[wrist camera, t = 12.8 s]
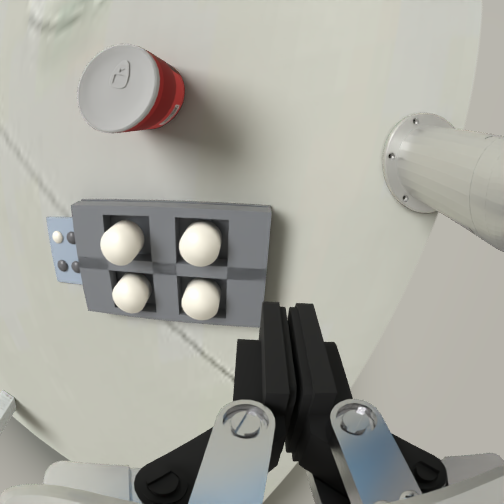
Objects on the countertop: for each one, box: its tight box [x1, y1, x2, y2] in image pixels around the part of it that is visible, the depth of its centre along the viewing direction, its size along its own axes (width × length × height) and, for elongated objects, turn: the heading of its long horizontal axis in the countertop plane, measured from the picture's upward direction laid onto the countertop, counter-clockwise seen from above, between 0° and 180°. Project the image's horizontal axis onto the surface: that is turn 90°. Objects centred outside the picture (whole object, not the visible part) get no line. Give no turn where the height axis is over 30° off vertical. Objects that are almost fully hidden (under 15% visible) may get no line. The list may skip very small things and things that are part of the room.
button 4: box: [182, 277, 221, 320], centre depth 38 cm, size 4×4×3 cm
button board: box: [46, 199, 272, 327], centre depth 38 cm, size 30×15×3 cm, turn 86°
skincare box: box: [0, 390, 16, 435], centre depth 50 cm, size 6×4×12 cm
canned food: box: [77, 44, 185, 133], centre depth 26 cm, size 8×8×11 cm
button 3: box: [179, 220, 222, 267], centre depth 35 cm, size 4×4×3 cm
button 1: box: [100, 220, 144, 266], centre depth 34 cm, size 4×4×3 cm
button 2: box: [112, 272, 152, 313], centre depth 38 cm, size 4×4×3 cm
